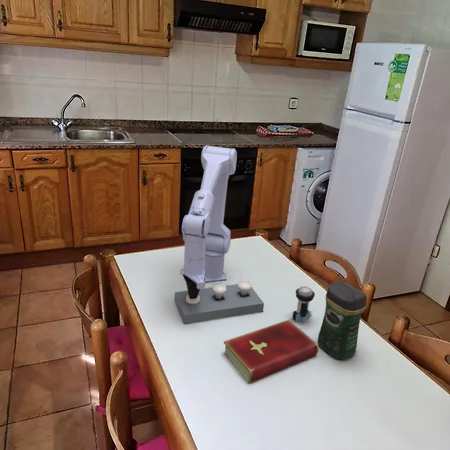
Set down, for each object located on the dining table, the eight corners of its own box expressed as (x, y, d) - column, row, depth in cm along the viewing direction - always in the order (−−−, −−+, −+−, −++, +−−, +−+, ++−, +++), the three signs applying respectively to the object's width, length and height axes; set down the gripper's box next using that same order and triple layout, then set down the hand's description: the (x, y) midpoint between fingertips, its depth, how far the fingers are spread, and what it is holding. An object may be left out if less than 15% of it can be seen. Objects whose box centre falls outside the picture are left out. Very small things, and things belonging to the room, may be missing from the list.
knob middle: (210, 294, 121) (211, 284, 120) (223, 292, 123) (223, 283, 122) (214, 301, 118) (215, 291, 117) (227, 299, 119) (228, 290, 118)
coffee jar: (360, 354, 106) (374, 293, 99) (339, 364, 101) (353, 301, 94) (332, 333, 113) (344, 275, 106) (311, 342, 109) (322, 282, 102)
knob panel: (174, 300, 123) (174, 292, 122) (247, 290, 131) (248, 282, 130) (184, 324, 112) (184, 315, 111) (263, 311, 120) (264, 303, 119)
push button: (305, 311, 122) (310, 282, 119) (317, 320, 118) (322, 291, 114) (287, 316, 119) (292, 287, 115) (299, 326, 115) (304, 296, 111)
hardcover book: (316, 357, 104) (319, 344, 102) (249, 385, 94) (250, 371, 92) (287, 331, 113) (289, 318, 112) (222, 354, 103) (223, 340, 101)
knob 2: (235, 290, 124) (236, 281, 123) (247, 289, 125) (248, 280, 124) (240, 297, 121) (241, 288, 119) (252, 296, 122) (253, 286, 121)
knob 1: (184, 303, 120) (184, 294, 118) (197, 302, 121) (197, 292, 120) (187, 311, 116) (188, 302, 115) (201, 309, 117) (201, 300, 116)
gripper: (174, 245, 117) (173, 286, 122) (187, 269, 105) (185, 313, 110) (198, 243, 119) (196, 283, 125) (213, 266, 107) (210, 310, 112)
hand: (192, 297), depth 117 cm, fingers closed, pressing on knob 1
